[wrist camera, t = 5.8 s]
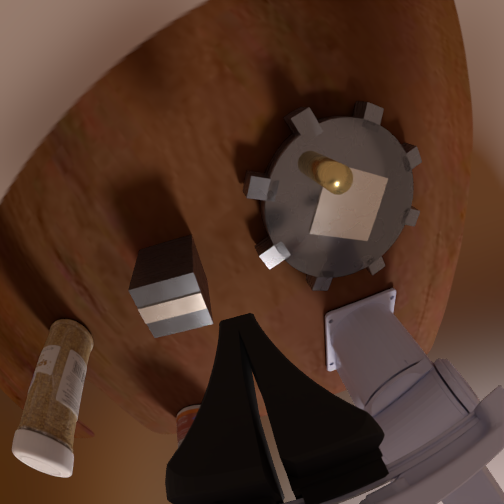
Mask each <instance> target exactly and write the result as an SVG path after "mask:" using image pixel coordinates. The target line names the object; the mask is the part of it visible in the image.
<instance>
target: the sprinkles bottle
mask: <svg viewBox="0 0 504 504" xmlns="http://www.w3.org/2000/svg"><path fill="white" fill-rule="evenodd" d="M92 348H93V339H92V336H91V334H90V333H89V331H88V330H87V329H86V328H85V327H84V326H83V325H81V324H79V323H78V322H76V321H74V320H70V319H60V320H57V321H55V322H54V323H53V324H52V326H51V327H50V333H49V336H48V338H47V341H46V343H45V346H44V349H43V350H42V352H41V355H40V357H39V360H38V363H37V366H36V369H35V372H34V375H33V378H32V381H31V384H30V388H29V391H28V396H27V400H26V404H25V407H24V411H23V416H22V418H21V423H20V426H19V427H18V430H16V432H15V435H14V440H13V446H12V452H13V454H14V455H15V456H16V457H17V458H18V459H19V460H21V461H22V462H23V463H25V464H27V465H28V466H30V467H32V468H34V469H36V470H39V471H41V472H44V473H47V474H50V475H54V476H58V477H69V476H71V475H72V470H73V461H74V455H73V447H72V446H73V439H74V432H75V427H76V422H77V419H78V412H79V407H80V401H81V396H82V390H83V385H84V380H85V376H86V370H87V363H88V359H89V355H90V352H91V351H92Z"/></svg>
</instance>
